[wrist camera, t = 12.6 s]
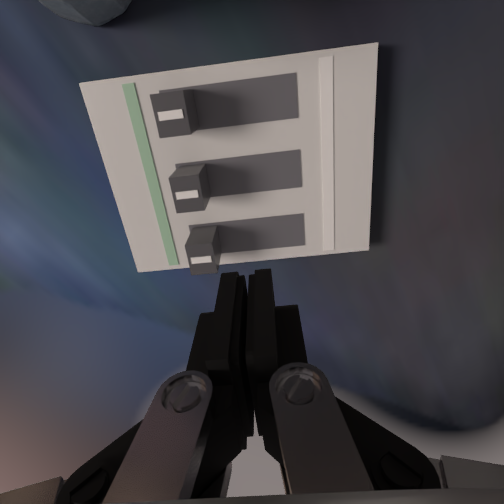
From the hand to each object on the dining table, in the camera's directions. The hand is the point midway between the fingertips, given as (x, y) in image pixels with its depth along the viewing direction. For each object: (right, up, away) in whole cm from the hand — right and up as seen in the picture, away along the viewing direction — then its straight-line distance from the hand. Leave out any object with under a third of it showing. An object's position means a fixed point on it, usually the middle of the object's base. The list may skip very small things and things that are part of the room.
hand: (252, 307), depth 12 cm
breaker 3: (-4, +3, +22) cm, 22 cm away
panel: (-1, +10, +21) cm, 23 cm away
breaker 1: (-6, +14, +16) cm, 22 cm away
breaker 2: (-5, +8, +19) cm, 21 cm away
